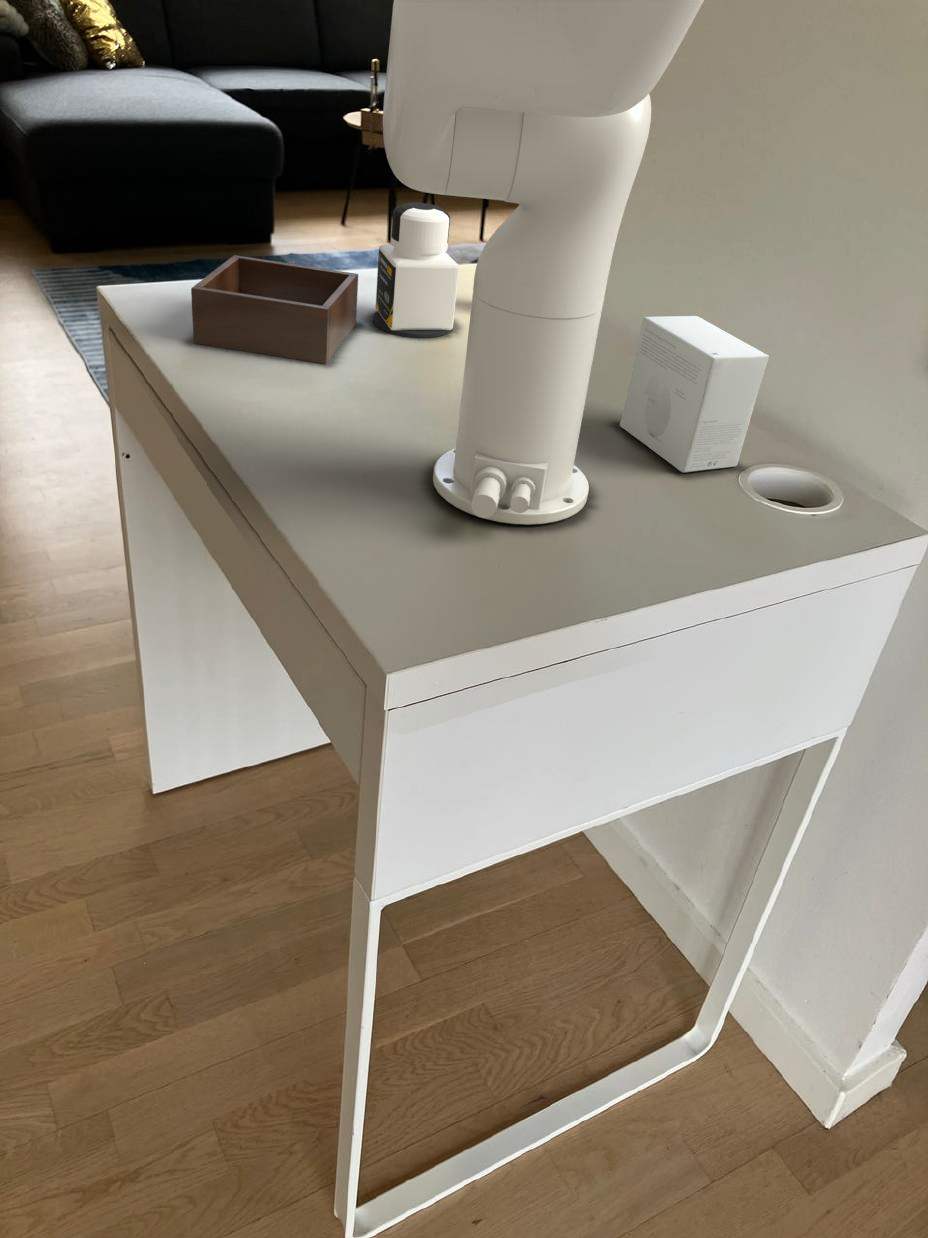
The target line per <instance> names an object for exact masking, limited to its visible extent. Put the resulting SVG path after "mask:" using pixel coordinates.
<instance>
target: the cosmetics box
mask: <svg viewBox="0 0 928 1238" xmlns="http://www.w3.org/2000/svg"><path fill="white" fill-rule="evenodd" d="M769 358H770V356H769V355H768V354H767V353H764V352H762V351H761V350H759V349H758V348H756V347H754V346H752V345H751V344H748V343H747V342H744V341H743V340H742V339H740V338H738V337H735V336H734V335H732V334H730V333H728V332H727V331H725V330H723V329H722V328H720V327H718V326H716V325H714V324H713V323H711V322H709V321H707V320H706V319H704V318H702V317H700V316H698V315H676V316H675V315H674V316H673V315H672V316H670V315H669V316H667V315H666V316H643V318H642V321H641V326H640V331H639V336H638V342H637V346H636V351H635V356H634V361H633V365H632V371H631V375H630V380H629V384H628V387H627V392H626V399H625V402H624V406H623V410H622V414H621V419H620V421H619V427H620V428H622V429H623V430H625V431H626V432H627V433H629V434H630V435H631V436H633V437H634V438H636V439H637V440H638V441H640V442H641V443H642V444H643V445H644V446H646V447H648V448H649V449H650V450H652V451H653V452H654V453H656V454H657V455H658V456H660V457H661V458H662V459H663V460H665V461H667V462H668V463H669V464H670V465H671V466H673V467H674V468H675V469H676V470H678V471H679V472H681V473H683V474H684V473H691V472H700V471H708V470H717V469H726V468H733V467H738V463H739V460H740V456H741V453H742V450H743V446H744V443H745V439H746V436H747V432H748V429H749V425H750V422H751V420H752V416H753V412H754V408H755V404H756V403H757V402H756V401H757V399H758V398H757V397H758V396H759V395H758V394H759V391H760V388H761V384H762V381H763V378H764V374H765V372H766V367H767V364H768V361H769Z"/></svg>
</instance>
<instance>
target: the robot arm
mask: <svg viewBox="0 0 928 1238" xmlns="http://www.w3.org/2000/svg"><path fill="white" fill-rule="evenodd" d="M704 1H705V0H393V3H392V15H391V23H390V33H389V45H388V55H387V64H386V65H387V66H386V74H385V75H386V76H385V84H384V85H385V86H384V94H383V95H384V96H383V109H382V113H383V114H382V136H383V137H382V138H383V145H384V150H385V155H386V159H387V162H388V165H389V167H390V169H391V171H392V173H393V175H394V176H395V178H396V179H397V180H398V181H399V182H401V184H403V185H405V187H408V188H410V189H412V190H415V191H418V192H421V193H428V194H434V195H443V196H452V197H453V196H454V197H462V198H463V197H464V198H472V199H473V198H475V199H485V200H494V201H503V202H505V203H511V204H512V203H513V204H518V206H517V207H516V208H515V209H514V210H513V212H511V214H510V215H509V216H508V217H507V218H506V219H505V220H504V221H503V222H502V223H501V224H500V225H499V226H498V227H497V229H496V230H495V231H494V232H493V234H492V235H491V236H490V237H489V239H488V240H487V241H486V243H485V245H484V246H483V249H482V250H481V252H480V254H479V257H478V259H477V263H476V266H475V270H474V274H473V275H474V277H473V285H472V296H471V305H470V306H471V307H470V314H469V323H468V324H469V325H468V332H467V333H468V335H467V343H466V351H465V361H464V369H463V370H464V371H463V379H462V380H463V381H462V389H461V397H460V408H459V414H458V415H459V416H458V425H457V433H456V441H455V442H456V443H455V447H454V448H452V449H449V450H448V451H447V452H445V453H443V454H442V455H441V456H440V457H438V459H437V460H436V461H435V464H434V466H433V472H432V473H433V475H432V482H433V486H434V488H435V489H436V492H437V493H438V494H439V496H441V497H442V498H443V499H444V500H445V501H446V502H448V503H449V504H450V505H452V506H454V507H455V508H457V509H458V510H461V511H462V512H465V513H467V514H469V515H472V516H475V517H478V518H479V519H483V520H484V519H485V520H488V521H492V522H497V523H503V524H510V525H527V526H528V525H531V526H532V525H544V524H550V523H556V522H559V521H562V520H565V519H568V518H570V517H572V516H574V515H576V514H577V513H578V512H580V511H581V510H582V509H583V508H584V507H585V505H586V503H587V501H588V495H589V490H590V487H589V481H588V479H587V477H586V475H585V474H584V472H582V470H581V469H579V468H578V467H577V466H576V465H575V459H576V455H577V449H578V443H579V437H580V432H581V429H582V428H581V427H582V421H583V417H584V411H585V405H586V400H587V394H588V389H589V383H590V377H591V372H592V367H593V361H594V356H595V350H596V345H597V339H598V334H599V330H600V322H601V317H602V313H603V312H602V311H603V307H604V302H605V297H606V291H607V285H608V280H609V274H610V270H611V265H612V260H613V255H614V251H615V246H616V242H617V239H618V235H619V230H620V226H621V223H622V220H623V217H624V214H625V209H626V207H627V203H628V200H629V198H630V195H631V191H632V190H633V189H632V188H633V185H634V182H635V180H636V177H637V175H638V172H639V168H640V165H641V162H642V160H643V156H644V154H645V150H646V146H647V142H648V139H649V134H650V129H651V123H652V100H651V95H650V93H651V92H652V91H653V90H654V88H655V87H656V85H657V84H658V83H659V81H660V79H661V78H662V77H663V75H664V73H665V72H666V70H667V69H668V67H669V65H670V64H671V62H672V60H673V58H674V56H675V55H676V53H677V51H678V49H679V47H680V45H682V42H683V40H684V39H685V36H686V34H687V33H688V31H689V30H690V27H691V26H692V24H693V22H694V20H695V18H696V17H697V14H698V12H699V11H700V9H701V7H702V5H703V3H704Z"/></svg>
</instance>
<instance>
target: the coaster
mask: <svg viewBox="0 0 928 1238" xmlns="http://www.w3.org/2000/svg"><path fill="white" fill-rule="evenodd" d="M372 323H373V325H374V326H375V327H377V328H378V329H380V330H382V331H383V332H387V333H389V334H393V335H397V336H400V337H401V336H402V337H407V338H420V339H425V338H426V339H427V338H428V339H429V338H438V337H442V336H446V335H448V334H450V333H451V332H453V330H454V326H455V325H454V322H453V328H452V329H451V330H391V329H390V328H389V326H388V325H387V324H386V322H385V321H384V319H383V318H382V316H381V315H380V314H379V312H378V311H377V310H376V311H375V312H374V313H373V314H372Z"/></svg>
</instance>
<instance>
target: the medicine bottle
mask: <svg viewBox="0 0 928 1238" xmlns="http://www.w3.org/2000/svg"><path fill="white" fill-rule="evenodd" d="M391 219H392V222H391V237H390V244H380V245H379V247H378V256H377V257H378V258H377V275H376V290H375V291H376V293H375V310H376V312H377V311H378V312H379V314H380V315H381V316H382V318H383V319H384V321H385V322H386V324H387V325H388V326H389V328H390V329H391V330H451V329H452V328H453V329H454V326H453V323H454V322H455V321H454V320H455V310H456V302H457V301H456V300H457V290H458V282H459V281H458V280H459V273H460V272H459V270H460V267H459V264H458V263H457V262H456V261H455V260H454V259H453V258H452V257H451V256H450V255H449V254H448V253H447V251H448V247H449V236H450V226H451V215H450V214H449V212H448V211H446V210H445V209H443V208H441V207H440V206H438V205H435V204H431V203H424V202H406V203H403V204H400V205H397V206H396V207H395V208H394V209H393V211H392V218H391Z"/></svg>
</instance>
